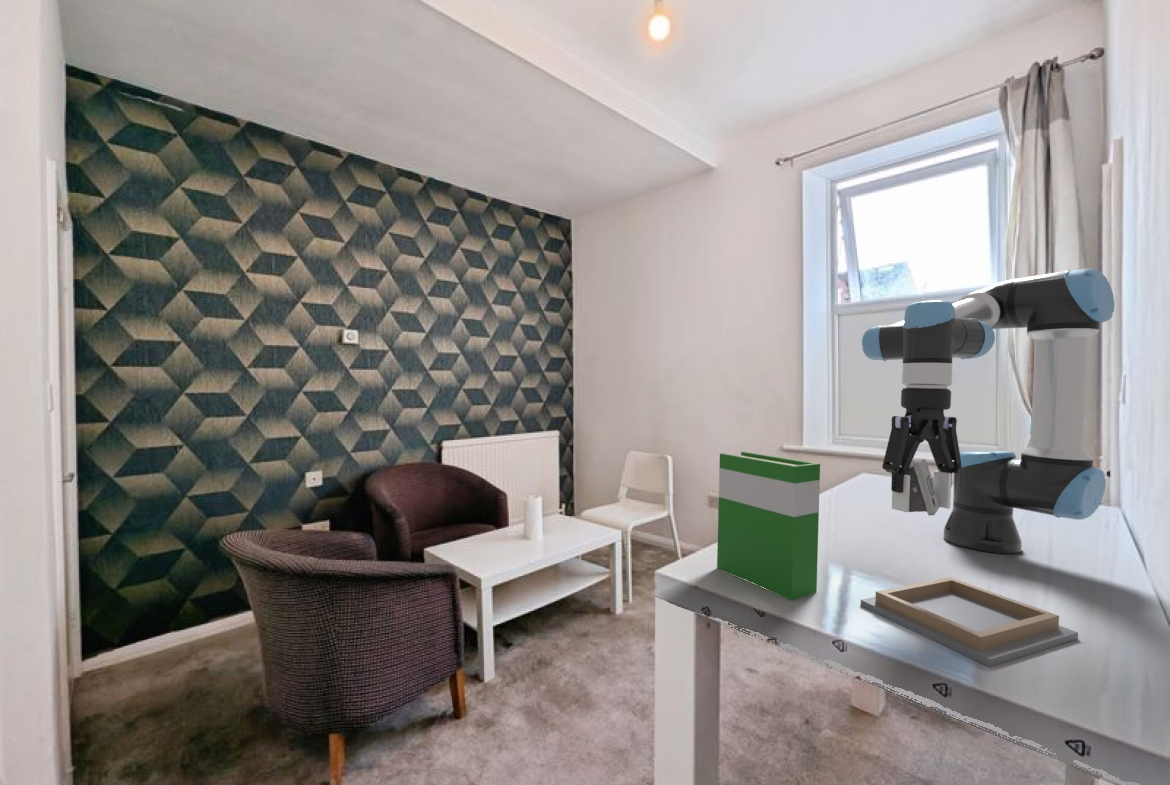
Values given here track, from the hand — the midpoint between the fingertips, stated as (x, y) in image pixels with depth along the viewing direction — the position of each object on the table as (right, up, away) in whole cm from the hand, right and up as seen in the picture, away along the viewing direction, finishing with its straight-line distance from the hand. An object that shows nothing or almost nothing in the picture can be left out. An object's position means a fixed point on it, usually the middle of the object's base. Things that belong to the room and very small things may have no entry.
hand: (921, 508), depth 91 cm
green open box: (-26, -16, +7) cm, 32 cm away
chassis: (+1, -16, -9) cm, 19 cm away
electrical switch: (0, 0, 0) cm, 1 cm away
